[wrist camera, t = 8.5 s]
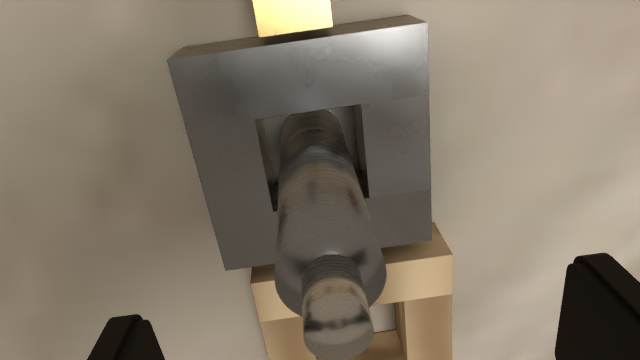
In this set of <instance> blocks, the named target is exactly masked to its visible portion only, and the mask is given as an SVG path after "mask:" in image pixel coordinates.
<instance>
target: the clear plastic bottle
mask: <svg viewBox="0 0 640 360" xmlns="http://www.w3.org/2000/svg"><path fill="white" fill-rule="evenodd" d="M386 277H387V270H386V265H385V261H384V258H383V255H382V252H381V249H380V246H379V243H378V240H377V237H376V234H375V231H374V228H373V225H372V222H371V219H370V216H369V212H368V209H367V206H366V203H365V200H364V197H363V194H362V191H361V188H360V185H359V182H358V179H357V176H356V173H355V170H354V167H353V163H352V160H351V157H350V154H349V151H348V148H347V145H346V142H345V139H344V136H343V133H342V130H341V127H340V124H339V122H338V120H337V119H336V118H335V117H334V115H332V114H331V113H330V112H328V111H327V110H324V109H323V110H316V111H310V112H303V113H296V114H291V115H290V116H289V117H288V118H287V119H286V121H285V122H284V125H283V127H282V130H281V145H280V168H279V191H278V213H277V236H276V259H275V287H276V291H277V293H278V295H279V298H280V299H281V301H282V302H283V303H284V304H285V305H286V306H287V308H289V309H290V310H291V311H292V312H294V313H296V314H297V315H299V316H302V317H303V338H304V343H305V345H306V347H307V349H308V350H309V351H310V352H311V353H312V354H314V355H315V356H317V357H319V358H322V359H325V360H347V359H350V358H353V357H355V356H357V355H359V354H361V353H362V352H363V351H364V350H366V349H367V347H368V346H369V345H370V343H371V341H372V339H373V335H374V329H373V324H372V320H371V316H370V312H369V307H370V306H371V305H372V304H373V303H374V302H375V301H376V300H377V299H378V298H379V296H380V295H381V293H382V291H383V289H384V286H385V283H386Z"/></svg>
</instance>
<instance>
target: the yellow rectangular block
mask: <svg viewBox="0 0 640 360" xmlns="http://www.w3.org/2000/svg"><path fill="white" fill-rule="evenodd" d="M252 1H253V6H254V12H255V17H256V23H257V28H258V34H259V37H266V36H273V35H279V34H286V33H293V32H300V31H307V30H314V29H321V28H328V27H333V24H332V15H331V6H330V0H252Z"/></svg>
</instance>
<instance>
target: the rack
mask: <svg viewBox="0 0 640 360" xmlns="http://www.w3.org/2000/svg"><path fill="white" fill-rule="evenodd" d="M380 249H381V252H382V255H383V258H384V261H385V265H386V270H387V277H386V283H385V286H384V289H383V291H382V293H381V295H380V296H379V298H378V299H377V300H376V301H375V302H374V303H373V304H372V305H371V306H374V305H381V304H388V303H395V317H396V330H393V331H386V332H379V333H374V335H373V339H372V341H371V343H370V345H369V346H368V347H367V349H366V350H364V351H363V352H362V353H361V354H359V355H357V356H355V357H353V358H350V359H347V360H452V253H451V251H450V249H449V248H448V246H447V244H446V242H445V241H444V239H443V237H442V235H441V234H440V232H439V230H438V228H437V227H436V225H435V223H432V241H425V242H418V243H411V244H405V245H398V246H391V247H384V248H380ZM250 285H251V289H252V293H253V297H254V301H255V305H256V309H257V313H258V317H259V321H260V325H261V329H262V333H263V337H264V340H265V344H266V348H267V352H268V356H269V360H325V359H322V358H319V357H317V356H315V355H314V354H312V353H311V352H310V351H309V350H308V349H307V347H306V345H305V343H304V338H303V317H302V316H299V315H297V314H296V313H294V312H292V311H291V310H290V309H289V308H287V306H286V305H285V304H284V303H283V302H282V301H281V299H280V298H279V295H278V293H277V291H276V287H275V263H274V264H267V265H260V266H253V267H252V274H251V282H250Z"/></svg>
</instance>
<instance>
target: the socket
mask: <svg viewBox="0 0 640 360" xmlns="http://www.w3.org/2000/svg"><path fill="white" fill-rule="evenodd" d="M167 62H168V65H169V69H170V73H171V76H172V80H173V83H174V87H175V91H176V94H177V98H178V101H179V105H180V109H181V112H182V116H183V119H184V123H185V127H186V130H187V134H188V137H189V141H190V145H191V148H192V152H193V155H194V159H195V163H196V166H197V170H198V173H199V177H200V181H201V184H202V188H203V191H204V195H205V199H206V202H207V206H208V209H209V213H210V217H211V220H212V224H213V227H214V231H215V235H216V238H217V242H218V245H219V249H220V253H221V256H222V260H223V263H224V267H225V271H226V270H233V269H240V268H247V267H253V266H260V265H267V264H274V263H275V259H276V236H277V213H278V191H279V182H277V183H275V181H274V176H273V170H272V165H271V160H270V155H269V150H268V145H267V140H266V135H265V129H264V124H263V119H262V118H268V117H275V116H282V115H289V114H296V113H303V112H310V111H316V110H323V109H330V108H337V107H344V106H351V105H353V106H354V116H355V126H356V136H357V147H358V157H359V167H360V171H355V173H356V176H357V179H358V182H359V185H360V188H361V191H362V194H363V197H364V200H365V203H366V206H367V209H368V212H369V216H370V219H371V222H372V225H373V228H374V231H375V234H376V237H377V240H378V243H379V246H380V248H384V247H391V246H398V245H405V244H411V243H418V242H425V241H432V220H431V170H430V121H429V72H428V22H425V21H423V20H420V19H418V18H415V17H413V16H410V15H403V16H396V17H389V18H382V19H375V20H368V21H361V22H354V23H347V24H341V25H334V26H333V27H328V28H321V29H314V30H307V31H300V32H293V33H286V34H279V35H273V36H266V37H259V36H257V37H251V38H244V39H237V40H230V41H223V42H216V43H209V44H202V45H195V46H188V47H183V48H182V49H181V50H179V51H178V52H177V53H176V54H174V55H173V56H172V57H170V58H169V59H168V60H167Z"/></svg>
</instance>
